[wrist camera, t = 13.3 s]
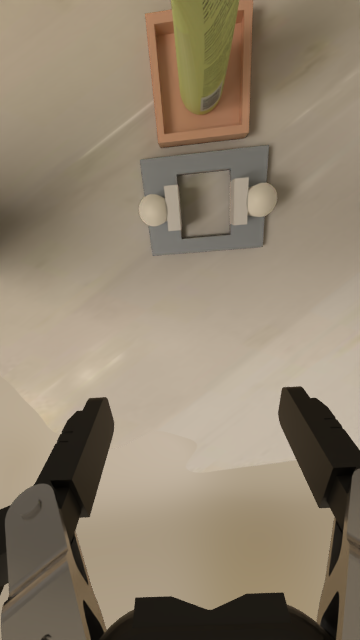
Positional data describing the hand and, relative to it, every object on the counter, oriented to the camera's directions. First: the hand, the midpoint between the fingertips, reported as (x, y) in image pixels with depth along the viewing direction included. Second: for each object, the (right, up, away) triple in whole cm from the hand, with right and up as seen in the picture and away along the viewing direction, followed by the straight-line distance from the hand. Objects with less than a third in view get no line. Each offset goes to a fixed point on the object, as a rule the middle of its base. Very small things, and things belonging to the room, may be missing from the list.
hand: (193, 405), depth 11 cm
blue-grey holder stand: (+3, +20, +22) cm, 30 cm away
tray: (+2, +31, +17) cm, 35 cm away
